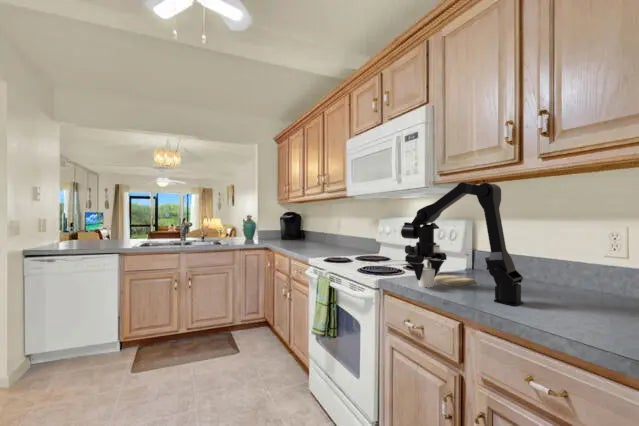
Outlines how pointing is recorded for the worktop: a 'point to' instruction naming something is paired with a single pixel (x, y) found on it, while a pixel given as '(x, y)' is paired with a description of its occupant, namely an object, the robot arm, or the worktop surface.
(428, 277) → the white short cylinder
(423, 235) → the robot arm
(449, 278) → the birch board
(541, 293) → the worktop surface
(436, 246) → the syrup box
